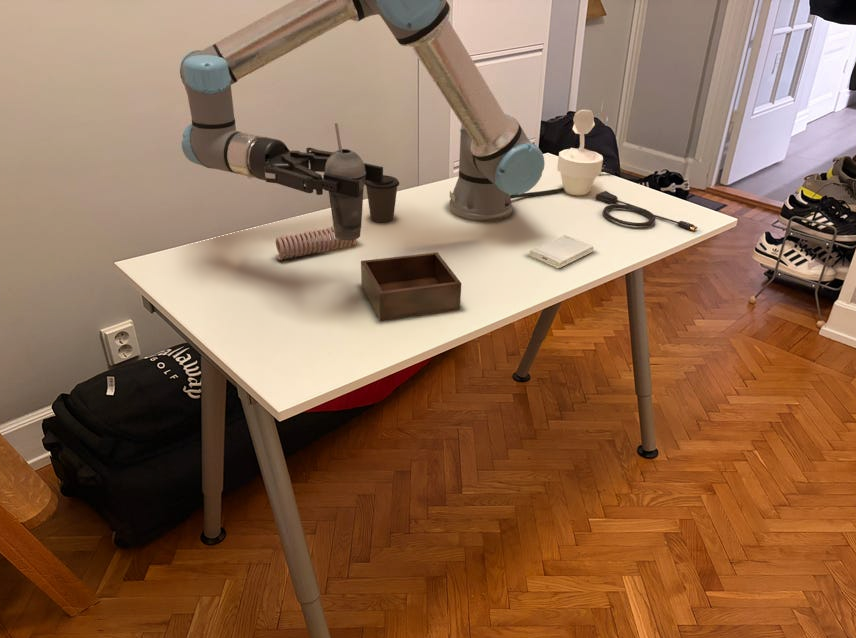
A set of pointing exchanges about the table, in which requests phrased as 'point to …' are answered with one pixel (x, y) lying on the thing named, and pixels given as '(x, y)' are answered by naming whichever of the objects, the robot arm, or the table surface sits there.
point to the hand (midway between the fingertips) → (370, 182)
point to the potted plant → (580, 159)
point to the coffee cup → (382, 199)
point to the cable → (612, 199)
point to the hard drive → (561, 251)
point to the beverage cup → (345, 206)
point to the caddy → (410, 285)
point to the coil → (309, 243)
